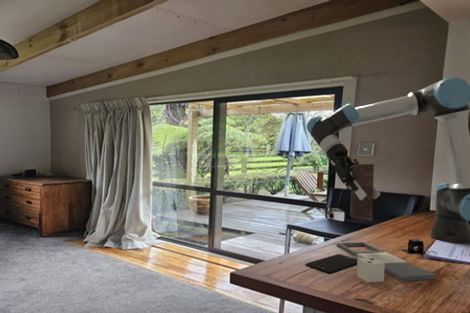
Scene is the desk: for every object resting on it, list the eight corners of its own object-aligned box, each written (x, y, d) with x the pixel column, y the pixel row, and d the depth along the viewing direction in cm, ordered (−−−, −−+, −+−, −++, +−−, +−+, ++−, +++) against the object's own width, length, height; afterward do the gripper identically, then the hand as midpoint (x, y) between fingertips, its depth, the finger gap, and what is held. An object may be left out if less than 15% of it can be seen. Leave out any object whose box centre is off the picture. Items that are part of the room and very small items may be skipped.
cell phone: (363, 263, 110) (363, 260, 110) (329, 275, 98) (329, 272, 98) (338, 256, 116) (338, 253, 116) (304, 266, 105) (304, 263, 105)
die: (372, 275, 99) (373, 257, 99) (383, 281, 94) (384, 263, 94) (356, 276, 97) (357, 258, 97) (367, 282, 93) (368, 263, 93)
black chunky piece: (406, 256, 120) (406, 243, 120) (393, 250, 127) (393, 237, 127) (438, 255, 122) (438, 242, 122) (423, 249, 129) (424, 237, 129)
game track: (363, 245, 130) (363, 242, 130) (435, 278, 97) (435, 274, 97) (336, 246, 128) (336, 242, 127) (401, 281, 94) (401, 276, 94)
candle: (365, 223, 117) (367, 163, 117) (345, 219, 123) (348, 162, 123) (376, 220, 123) (378, 163, 122) (356, 217, 128) (359, 162, 128)
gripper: (344, 156, 141) (380, 201, 128) (310, 155, 129) (345, 205, 116) (356, 143, 136) (394, 189, 123) (322, 141, 125) (359, 191, 112)
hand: (370, 197), depth 120 cm, fingers closed on candle, 7 cm apart
